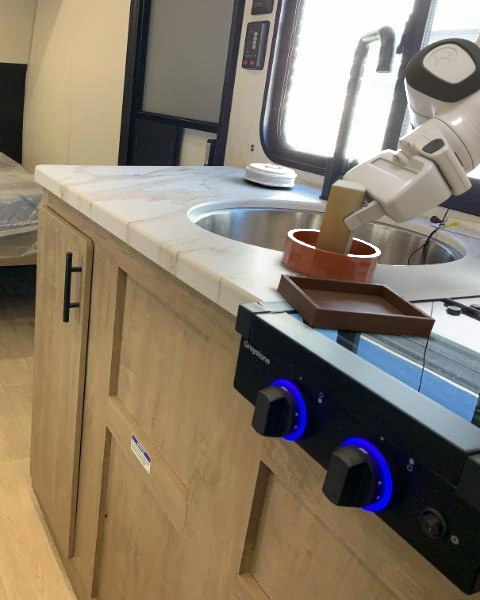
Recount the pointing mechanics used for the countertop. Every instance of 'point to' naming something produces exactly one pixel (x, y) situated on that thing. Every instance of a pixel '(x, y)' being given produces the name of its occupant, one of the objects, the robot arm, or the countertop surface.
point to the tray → (354, 306)
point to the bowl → (329, 258)
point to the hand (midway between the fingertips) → (336, 218)
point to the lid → (270, 175)
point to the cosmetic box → (340, 216)
